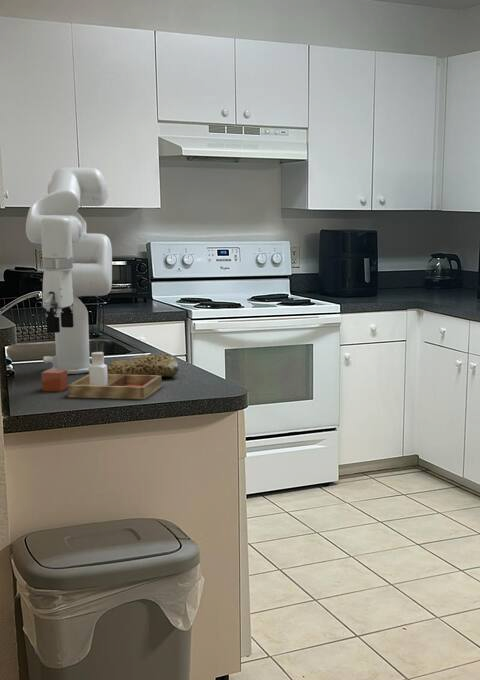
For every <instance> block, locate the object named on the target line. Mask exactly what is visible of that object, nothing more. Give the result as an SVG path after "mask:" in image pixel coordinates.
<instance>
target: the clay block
mask: <svg viewBox="0 0 480 680" xmlns="http://www.w3.org/2000/svg"><path fill="white" fill-rule="evenodd" d="M68 383H69V381H68V374H67V370H66V369H51V368H48V369H46V370H44V371H41V391H42V392H63V391H64V390H67V389H68V385H69V384H68Z"/></svg>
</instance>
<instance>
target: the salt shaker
mask: <svg viewBox="0 0 480 680" xmlns="http://www.w3.org/2000/svg"><path fill="white" fill-rule="evenodd" d="M91 364H92V365H90V366H89V372H88V374H89V379H90V385H96V386H106V385H108V378H107V374H108V365H107V364H105V354H104V352H103V351H94V352H91Z"/></svg>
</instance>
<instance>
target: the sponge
mask: <svg viewBox="0 0 480 680" xmlns="http://www.w3.org/2000/svg"><path fill="white" fill-rule="evenodd" d="M179 371H180V370H179V361H177V359H176V358H175V357H174V356H173V355H168V354H162V353H160V354H159V353H156V354H147V355H146V354H145V355H142V356H139V357H134V358H129V359H117V360H115V361H112V362H110V363H109V365H108V366H107V374H122V375H161V377H173V376H176V375H177V374H178V372H179Z"/></svg>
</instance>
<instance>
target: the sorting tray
mask: <svg viewBox="0 0 480 680" xmlns="http://www.w3.org/2000/svg"><path fill="white" fill-rule="evenodd" d="M107 378H108V385H106V386H96V385H90V379H89V373H88V374H86V375H85V376H83V377H81V378H78V379H77V380H75V381H74V382H71V383H69V384H68V388H67V398H78V399H79V398H82V399H113V400H114V399H115V400H116V399H117V400H118V399H119V400H145V399H147V398H148V397H150V396H151V395H153V393H155V392H156V391H158V390H159V389H161V388H162V387H163V382H162V380H163V379H162V376H161V375H122V374H108V373H107Z"/></svg>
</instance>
